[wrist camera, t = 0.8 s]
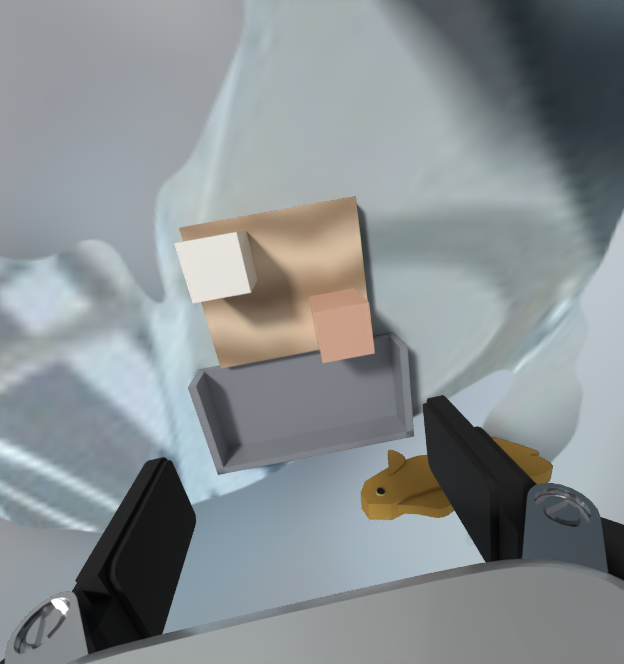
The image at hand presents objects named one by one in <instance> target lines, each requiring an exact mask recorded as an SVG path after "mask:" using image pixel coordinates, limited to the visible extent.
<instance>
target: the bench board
mask: <svg viewBox="0 0 624 664" xmlns="http://www.w3.org/2000/svg"><path fill="white" fill-rule="evenodd" d="M179 230H180V233H181V236H182V240H183V242H184V241H189V240H195V239H201V238H206V237H212V236H217V235H223V234H228V233H234V232H241V231H246V232H247V236H248V240H249V245H250V249H251V253H252V258H253V262H254V266H255V271H256V275H257V279H258V280H257V282H256V284H255V286H254V288H253V290H252V292H251V293H246V294H241V295H236V296H230V297H225V298H219V299H214V300H209V301H203V302H201V303H202V307H203V310H204V313H205V317H206V320H207V323H208V327H209V330H210V333H211V337H212V340H213V343H214V347H215V350H216V354H217V357H218V360H219V364H220V367H221V368H226V367H231V366H237V365H242V364H247V363H252V362H258V361H263V360H268V359H273V358H279V357H284V356H289V355H294V354H300V353H305V352H310V351H316V350H319V348H318V344H317V340H316V335H315V330H314V324H313V319H312V313H311V307H310V302H309V297H310V296H315V295H321V294H326V293H331V292H337V291H342V290H347V289H353V288H354V289H355V290H356V291H357V292H358V293H359V294H360V295H361V296H362V297H364V298H365V299H366V300H367V291H366V282H365V273H364V264H363V255H362V247H361V238H360V229H359V220H358V211H357V202H356V196H354V197H348V198H343V199H337V200H331V201H326V202H320V203H315V204H309V205H304V206H298V207H293V208H287V209H281V210H276V211H270V212H265V213H259V214H254V215H248V216H243V217H237V218H231V219H226V220H220V221H215V222H209V223H204V224H198V225H193V226H187V227H182V228H179ZM367 301H368V300H367Z"/></svg>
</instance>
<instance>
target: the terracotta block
mask: <svg viewBox="0 0 624 664" xmlns="http://www.w3.org/2000/svg"><path fill="white" fill-rule="evenodd" d="M309 302H310V307H311V313H312V319H313V324H314V330H315V335H316V340H317V344H318V348H319V351H320V355H321V359H322V363H327V362H332V361H337V360H342V359H348V358H353V357H358V356H363V355H369V354H374V353H375V351H374V343H373V334H372V325H371V316H370V307H369V302H368V301H367V300H366V299H365V298H364V297H362V296H361V295H360V294H359V293H358V292H357V291H356V290H355V289H354V288H353V289H347V290H342V291H337V292H331V293H326V294H321V295H315V296H310V297H309Z"/></svg>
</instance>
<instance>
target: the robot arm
mask: <svg viewBox="0 0 624 664" xmlns="http://www.w3.org/2000/svg"><path fill="white" fill-rule="evenodd" d="M423 414H424V425H425V434H426V445H427V456H428V463H429V467H430V469H431V472H432V473H433V475H434V477H435V478H436V480H437V482H438V483H439V485H440V487H441V488H442V490H443V492H444V493H445V495H446V497H447V499H448V500H449V502H450V504H451V505H452V507H453V509H454V510H455V512H456V514H457V515H458V517H459V518H460V520H461V522H462V524H463V525H464V527H465V529H466V530H467V532H468V534H469V535H470V537H471V539H472V540H473V542H474V544H475V545H476V547H477V549H478V550H479V552H480V554H481V555H482V557H483V559H484V560H485V562H486V563H480V564H474V565H469V566H464V567H459V568H454V569H449V570H444V571H439V572H434V573H429V574H424V575H420V576H415V577H411V578H406V579H402V580H397V581H393V582H388V583H384V584H379V585H375V586H370V587H366V588H361V589H357V590H352V591H347V592H343V593H339V594H334V595H330V596H326V597H321V598H317V599H312V600H308V601H303V602H299V603H295V604H290V605H286V606H282V607H277V608H273V609H268V610H264V611H260V612H256V613H251V614H247V615H243V616H238V617H234V618H230V619H225V620H221V621H217V622H213V623H209V624H204V625H200V626H196V627H191V628H188V629H183V630H179V631H174V632H170V633H166V634H162V633H163V630H164V627H165V624H166V620H167V617H168V614H169V610H170V607H171V604H172V600H173V597H174V594H175V591H176V587H177V584H178V581H179V577H180V574H181V571H182V568H183V564H184V561H185V558H186V554H187V551H188V548H189V545H190V541H191V538H192V535H193V531H194V528H195V524H196V515H195V512H194V510H193V508H192V506H191V503H190V501H189V499H188V496H187V494H186V492H185V490H184V487H183V485H182V483H181V481H180V478H179V476H178V474H177V472H176V469H175V467H174V465H173V463H172V461H171V460H167V459H166V458H164V457H162V458H158V459H153V460H149V461H147V462H146V463H145V464H144V466H143V468H142V469H141V471H140V473H139V474H138V476H137V478H136V479H135V481H134V483H133V484H132V486H131V488H130V490H129V491H128V493H127V495H126V496H125V498H124V500H123V501H122V503H121V505H120V506H119V508H118V510H117V511H116V513H115V515H114V516H113V518H112V520H111V521H110V523H109V525H108V526H107V528H106V530H105V531H104V533H103V535H102V536H101V538H100V540H99V541H98V543H97V545H96V546H95V548H94V550H93V551H92V553H91V555H90V556H89V558H88V560H87V562H86V563H85V565H84V566H83V568H82V570H81V572H80V573H79V575H78V577H77V578H76V582H77V584H76V585H75V587H74V589H73V590H72V592H70V591H65V592H60V593H57V594H55V595H53V596H51V597H49V598H48V599H46V600H44V601H43V602H41V603H40V604H39V605H38V606H37V607H35V608H34V609H33V610H32V611H31V612H30V613H29V614H28V615H27V616H26V617H25V618H24V619H23V620H22V621H21V622H20V624H19V625H18V626H17V628H16V629H15V631H14V632H13V633H12V635H11V637H10V639H9V641H8V643H7V647H6V651H5V658H4V659H3V660H2V661H1V662H0V664H624V525H623V524H620V523H617V522H613V521H611V520H608V519H605V518H602V517H600V514H599V512H598V509H597V508H596V507H595V505H593V503H592V502H591V501H590V500H589V499H588V498H586V497H585V496H584V495H583V494H581V493H579V492H577V491H576V490H574V489H572V488H569V487H566V486H563V485H560V484H554V483H541V484H538V485H537V484H536V483H535V482H534V481H533V480H532V479H531V478H530V477H529V476H528V475H527V474H526V472H525V471H524V470H523V469H522V468H521V467H520V466H519V465H518V464H517V463H516V462H515V461H514V460H513V459H512V458H511V457H510V456H509V455H508V454H507V453H506V452H505V451H504V450H503V449H502V448H501V447H500V446H499V445H498V444H497V443H496V442H495V441H494V440H493V439H492V438H491V437H490V436H489V435H488V434H487V433H486V432H485V431H484V430H483V429H482V428H481V427H478V426H477V427H473V426H472V424H471V423H470V422H469V421H468V420H467V419H466V418H465V417H464V416H463V415H462V414H461V413H460V412H459V411H458V410H457V409H456V407H455V406H454V405H453V404H452V403H451V402H450V401H449V400H448V399H447V398H446V397H445V396H444V395H441V396H437V397H432V398H428V399H427V403H424V404H423Z"/></svg>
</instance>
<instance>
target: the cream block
mask: <svg viewBox="0 0 624 664" xmlns="http://www.w3.org/2000/svg"><path fill="white" fill-rule="evenodd" d="M174 244H175V247H176V250H177V253H178V257H179V260H180V263H181V266H182V270H183V273H184V276H185V279H186V283H187V286H188V289H189V292H190V296H191V299H192V302H193V303H198V302H203V301H209V300H214V299H219V298H225V297H230V296H236V295H241V294H246V293H251V292H252V290H253V288H254V286H255V284H256V282H257V280H258V279H257V275H256V271H255V266H254V262H253V258H252V253H251V249H250V245H249V240H248V236H247V232H246V231H241V232H234V233H228V234H223V235H217V236H212V237H206V238H201V239H195V240H189V241H184V242H178V243H174Z"/></svg>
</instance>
